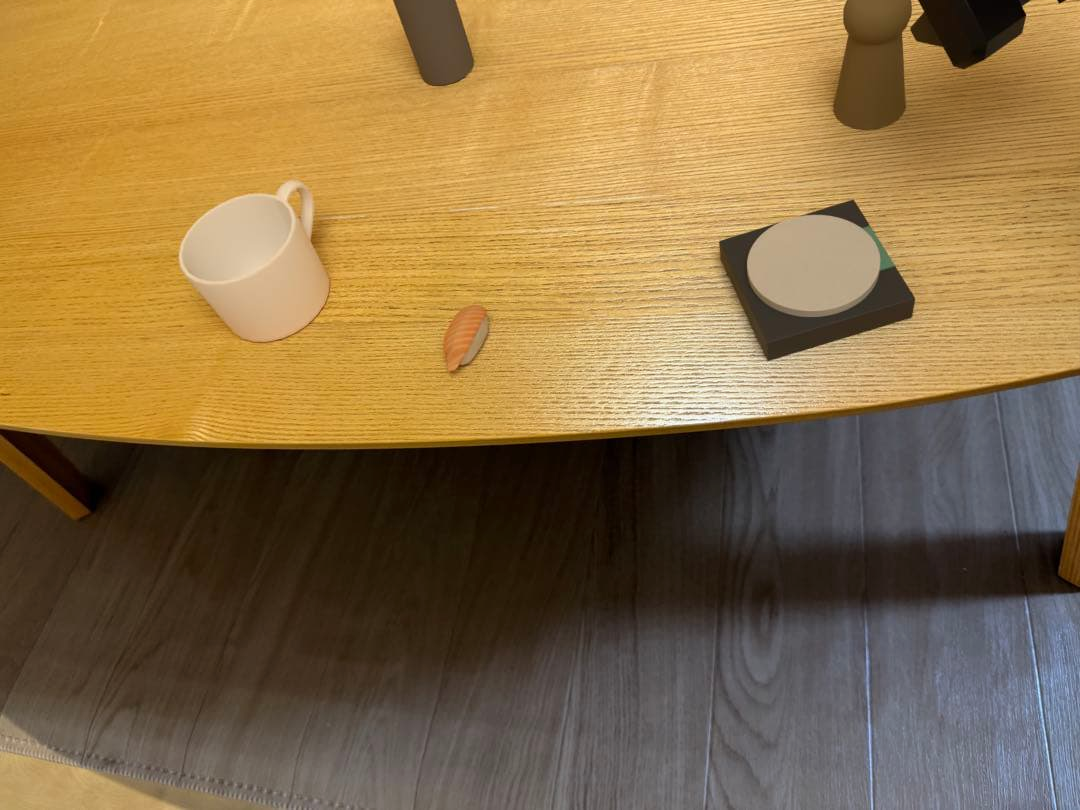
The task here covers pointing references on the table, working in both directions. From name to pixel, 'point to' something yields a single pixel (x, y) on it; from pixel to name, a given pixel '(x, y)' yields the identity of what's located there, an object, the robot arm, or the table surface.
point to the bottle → (436, 39)
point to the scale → (815, 280)
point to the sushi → (465, 336)
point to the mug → (258, 263)
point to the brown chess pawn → (872, 63)
